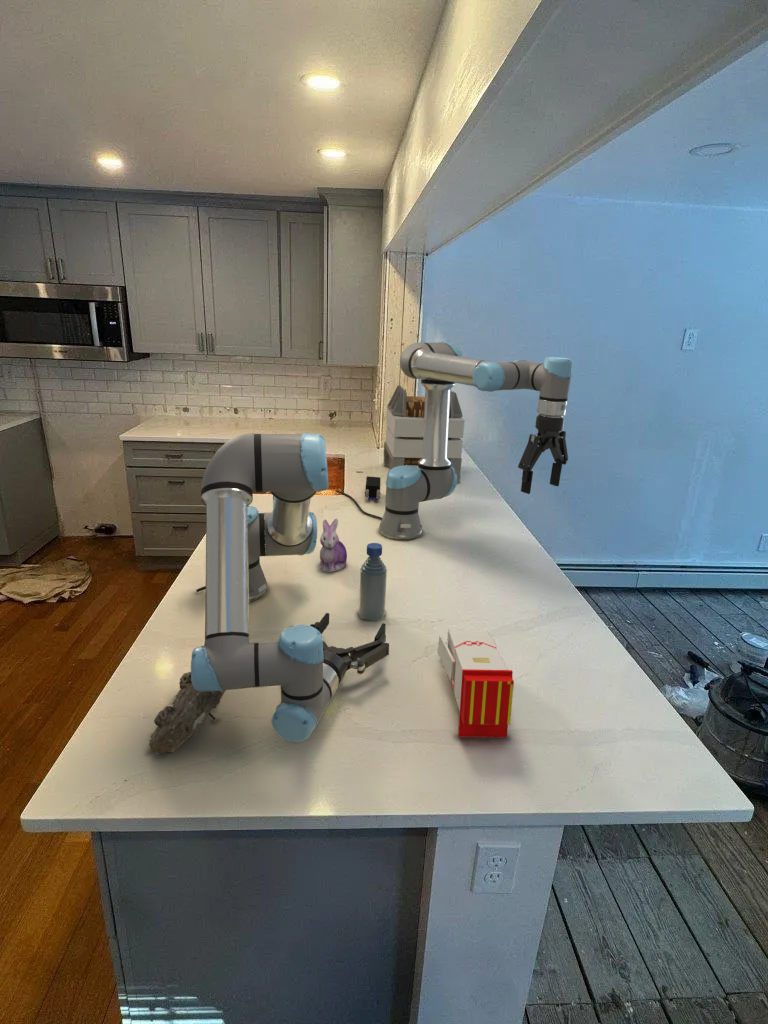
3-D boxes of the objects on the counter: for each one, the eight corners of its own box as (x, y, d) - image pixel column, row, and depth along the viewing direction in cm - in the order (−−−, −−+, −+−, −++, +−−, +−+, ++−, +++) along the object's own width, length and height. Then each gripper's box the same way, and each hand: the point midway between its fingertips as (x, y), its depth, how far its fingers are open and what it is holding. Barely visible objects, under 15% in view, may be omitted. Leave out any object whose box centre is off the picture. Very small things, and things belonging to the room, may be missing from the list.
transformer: (382, 463, 289) (386, 382, 275) (445, 464, 293) (451, 384, 279) (390, 482, 257) (394, 392, 243) (460, 483, 261) (468, 394, 247)
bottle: (376, 623, 143) (379, 554, 136) (354, 615, 146) (356, 548, 139) (389, 612, 148) (392, 545, 142) (367, 605, 151) (369, 539, 145)
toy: (488, 613, 130) (523, 677, 101) (484, 667, 133) (517, 744, 104) (435, 612, 130) (455, 676, 101) (432, 666, 133) (451, 743, 103)
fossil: (177, 661, 117) (228, 629, 112) (210, 691, 120) (261, 661, 115) (124, 747, 97) (183, 713, 92) (164, 781, 100) (223, 749, 95)
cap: (377, 558, 139) (377, 550, 138) (363, 554, 140) (364, 546, 140) (384, 553, 142) (385, 544, 141) (371, 549, 144) (371, 541, 143)
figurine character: (380, 506, 230) (380, 491, 243) (381, 489, 227) (381, 475, 240) (364, 506, 230) (364, 491, 243) (364, 489, 226) (365, 474, 240)
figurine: (324, 575, 166) (325, 528, 161) (312, 561, 175) (312, 516, 170) (353, 570, 170) (355, 523, 165) (340, 557, 179) (341, 512, 174)
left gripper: (264, 680, 116) (305, 627, 135) (382, 705, 110) (407, 647, 129) (263, 648, 113) (305, 599, 133) (383, 673, 107) (408, 618, 127)
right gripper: (534, 421, 146) (523, 499, 153) (588, 414, 161) (576, 485, 168) (511, 416, 151) (501, 492, 159) (565, 409, 167) (554, 479, 174)
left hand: (355, 623), depth 131 cm, fingers open, 13 cm apart
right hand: (540, 488), depth 164 cm, fingers open, 13 cm apart
